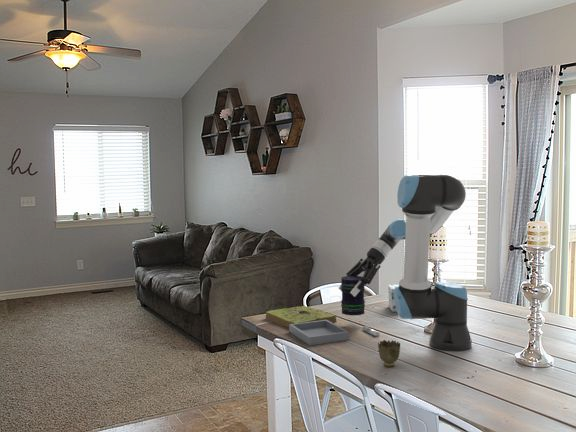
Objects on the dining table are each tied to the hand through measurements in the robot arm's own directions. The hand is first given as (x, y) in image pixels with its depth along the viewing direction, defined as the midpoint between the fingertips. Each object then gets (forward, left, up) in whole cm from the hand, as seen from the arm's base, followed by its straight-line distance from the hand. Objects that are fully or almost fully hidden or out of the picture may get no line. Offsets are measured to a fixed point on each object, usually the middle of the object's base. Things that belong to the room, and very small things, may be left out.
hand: (346, 292), depth 245 cm
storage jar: (0, -3, -9) cm, 10 cm away
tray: (-7, +17, -14) cm, 23 cm away
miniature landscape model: (+17, +14, -15) cm, 27 cm away
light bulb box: (+16, -35, -15) cm, 41 cm away
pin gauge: (-13, -5, -13) cm, 19 cm away
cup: (-49, +10, -15) cm, 53 cm away
